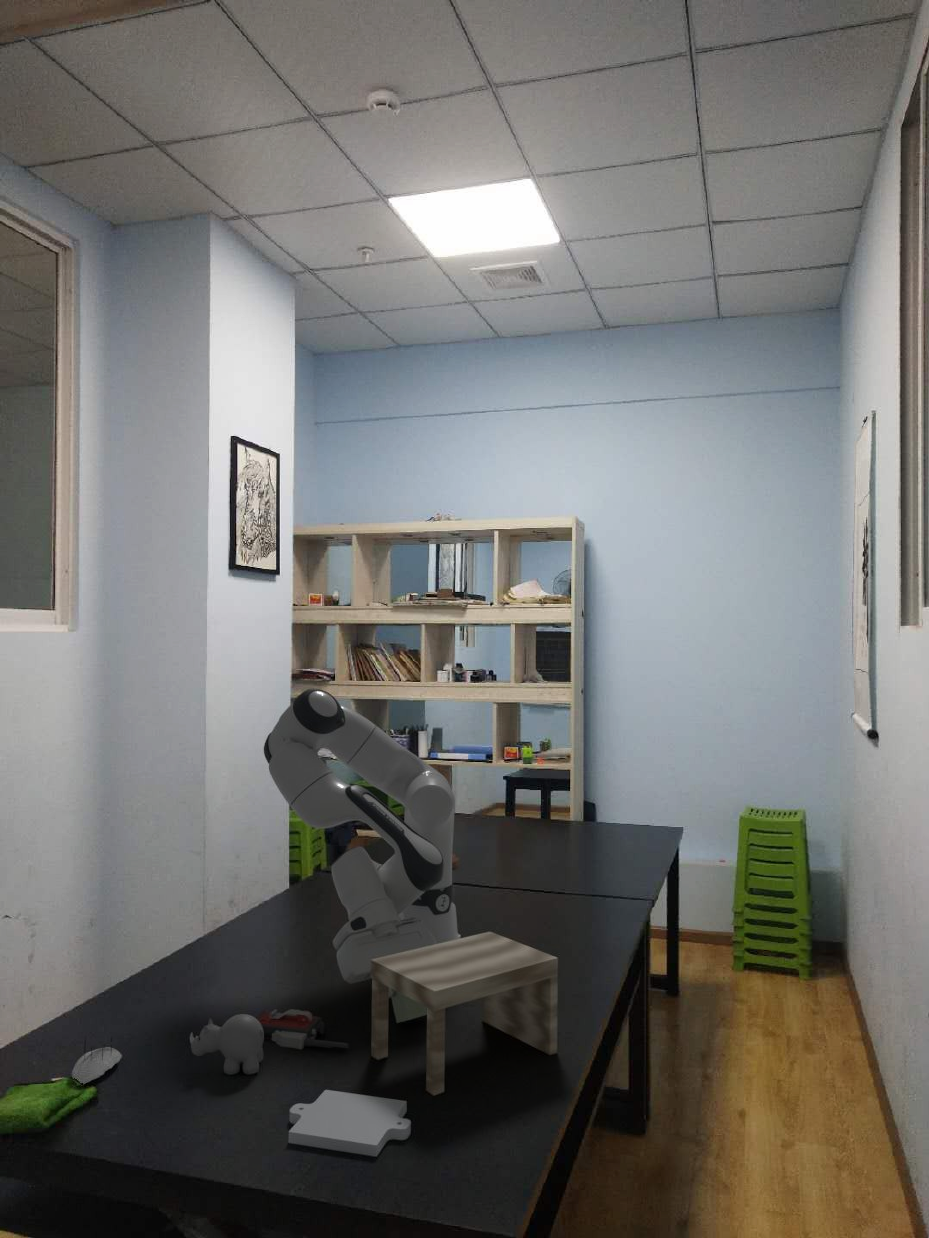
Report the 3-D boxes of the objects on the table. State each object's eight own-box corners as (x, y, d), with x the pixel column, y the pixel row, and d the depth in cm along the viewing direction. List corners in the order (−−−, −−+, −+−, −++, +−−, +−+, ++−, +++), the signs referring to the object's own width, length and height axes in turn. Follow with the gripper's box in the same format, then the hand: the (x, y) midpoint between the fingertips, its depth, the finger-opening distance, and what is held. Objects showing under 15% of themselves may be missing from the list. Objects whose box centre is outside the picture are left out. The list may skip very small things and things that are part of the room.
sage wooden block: (396, 1022, 177) (386, 977, 179) (416, 1016, 180) (406, 972, 182) (408, 1019, 174) (398, 973, 177) (428, 1013, 177) (418, 968, 180)
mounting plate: (422, 1116, 144) (422, 1103, 144) (394, 1162, 132) (394, 1147, 132) (309, 1099, 149) (309, 1087, 149) (271, 1142, 136) (272, 1128, 136)
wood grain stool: (369, 1055, 164) (370, 959, 164) (489, 1018, 180) (489, 931, 180) (433, 1096, 150) (434, 991, 150) (556, 1052, 166) (557, 957, 166)
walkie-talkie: (236, 1044, 169) (346, 1057, 164) (236, 1018, 169) (346, 1030, 164) (258, 1024, 177) (363, 1036, 173) (258, 1000, 177) (363, 1011, 173)
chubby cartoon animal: (196, 1057, 162) (197, 1005, 163) (268, 1059, 162) (269, 1007, 162) (182, 1077, 155) (183, 1023, 155) (258, 1078, 155) (258, 1024, 155)
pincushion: (96, 1091, 151) (97, 1054, 151) (59, 1088, 151) (59, 1051, 151) (132, 1057, 163) (132, 1023, 163) (97, 1055, 163) (98, 1020, 163)
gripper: (414, 924, 194) (443, 988, 187) (324, 944, 182) (352, 1013, 174) (427, 906, 191) (458, 971, 183) (337, 926, 178) (366, 996, 171)
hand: (406, 992), depth 179 cm, fingers closed on sage wooden block, 4 cm apart
